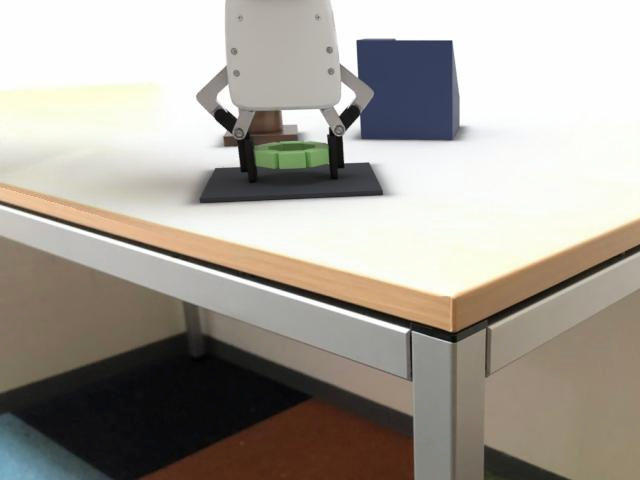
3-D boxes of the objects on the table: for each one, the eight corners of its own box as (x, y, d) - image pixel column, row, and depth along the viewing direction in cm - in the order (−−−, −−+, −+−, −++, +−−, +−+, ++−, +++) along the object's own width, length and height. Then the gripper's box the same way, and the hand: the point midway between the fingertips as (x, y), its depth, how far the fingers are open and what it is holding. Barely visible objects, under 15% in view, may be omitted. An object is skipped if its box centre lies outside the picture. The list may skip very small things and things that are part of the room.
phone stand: (459, 126, 107) (459, 37, 102) (452, 139, 96) (452, 40, 91) (377, 125, 108) (373, 37, 103) (361, 138, 97) (356, 40, 92)
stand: (224, 146, 92) (216, 82, 89) (230, 135, 100) (223, 76, 97) (298, 143, 94) (292, 81, 91) (297, 133, 102) (293, 75, 99)
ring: (252, 170, 68) (251, 154, 67) (256, 156, 74) (254, 142, 74) (332, 167, 69) (331, 151, 69) (329, 153, 76) (328, 139, 75)
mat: (200, 202, 65) (199, 198, 65) (215, 171, 78) (215, 167, 77) (383, 194, 68) (382, 190, 67) (369, 165, 80) (369, 162, 80)
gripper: (371, -23, 70) (379, 167, 77) (178, -24, 67) (205, 174, 74) (379, -27, 63) (387, 182, 70) (165, -28, 60) (196, 190, 68)
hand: (294, 176), depth 72 cm, fingers closed on ring, 7 cm apart
